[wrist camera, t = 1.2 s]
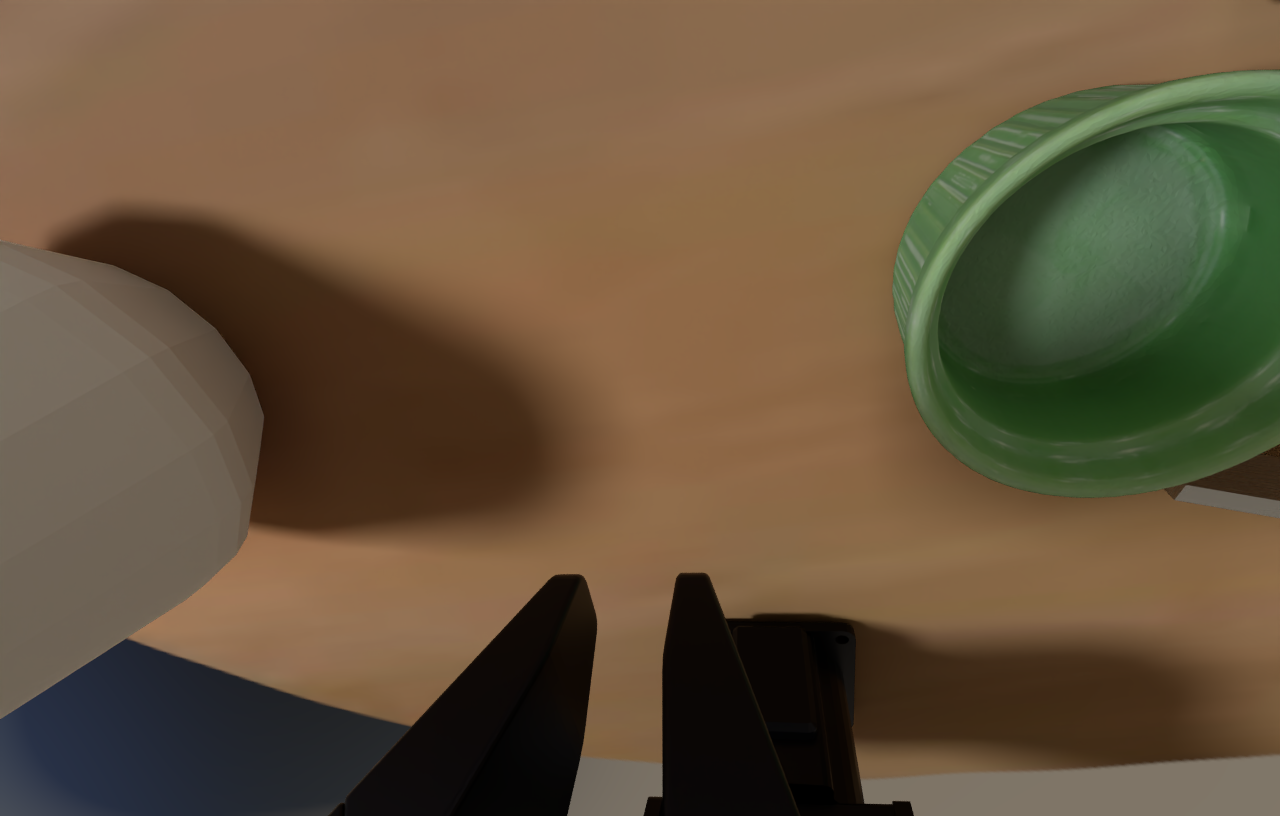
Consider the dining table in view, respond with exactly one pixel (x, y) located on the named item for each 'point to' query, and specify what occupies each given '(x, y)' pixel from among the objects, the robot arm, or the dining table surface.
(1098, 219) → the ramekin
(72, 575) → the cup
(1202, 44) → the dining table surface
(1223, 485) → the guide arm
